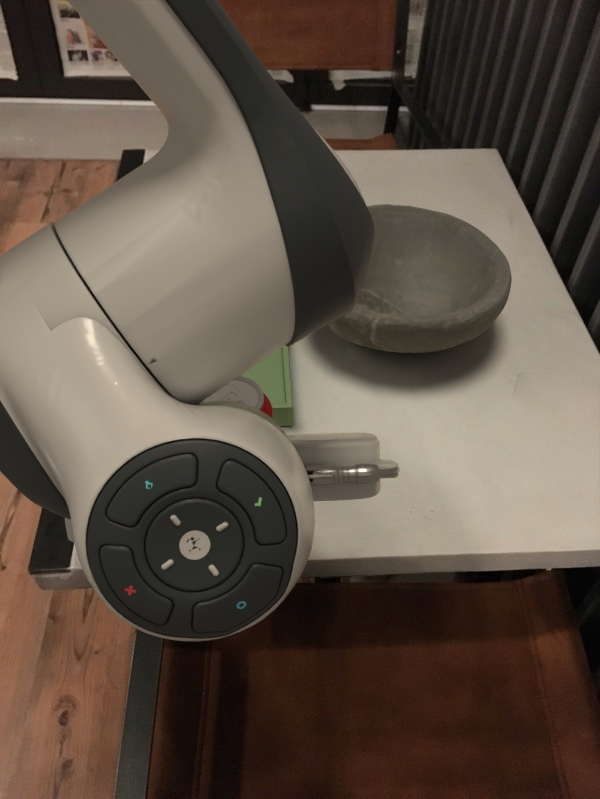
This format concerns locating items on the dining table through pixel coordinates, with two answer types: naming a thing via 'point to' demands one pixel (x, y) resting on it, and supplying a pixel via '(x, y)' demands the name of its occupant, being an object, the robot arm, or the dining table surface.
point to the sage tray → (275, 384)
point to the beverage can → (243, 394)
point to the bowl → (426, 283)
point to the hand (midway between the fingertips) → (231, 455)
